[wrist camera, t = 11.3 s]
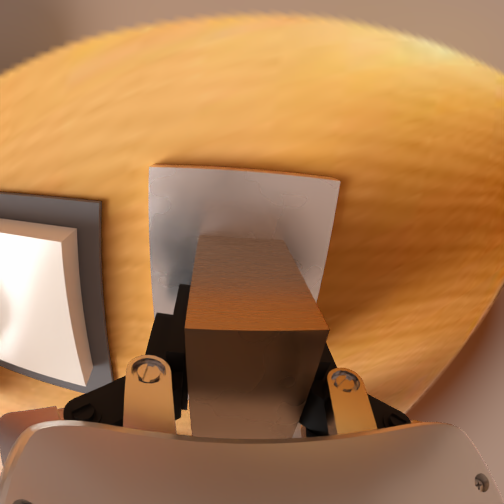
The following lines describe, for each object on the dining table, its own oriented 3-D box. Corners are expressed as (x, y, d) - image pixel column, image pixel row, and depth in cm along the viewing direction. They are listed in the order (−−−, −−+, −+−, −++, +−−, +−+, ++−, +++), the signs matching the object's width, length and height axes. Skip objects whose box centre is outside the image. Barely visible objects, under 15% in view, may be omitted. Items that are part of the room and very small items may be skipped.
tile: (85, 386, 12) (61, 242, 9) (-22, 350, 11) (-57, 222, 8) (93, 366, 14) (77, 227, 11) (-11, 335, 13) (-39, 212, 10)
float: (287, 388, 16) (311, 481, 11) (166, 387, 15) (156, 484, 10) (333, 177, 12) (427, 231, 6) (153, 164, 11) (85, 210, 5)
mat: (116, 396, 15) (116, 400, 15) (-6, 360, 14) (-8, 362, 14) (101, 201, 11) (99, 203, 11) (-47, 189, 9) (-50, 190, 9)
